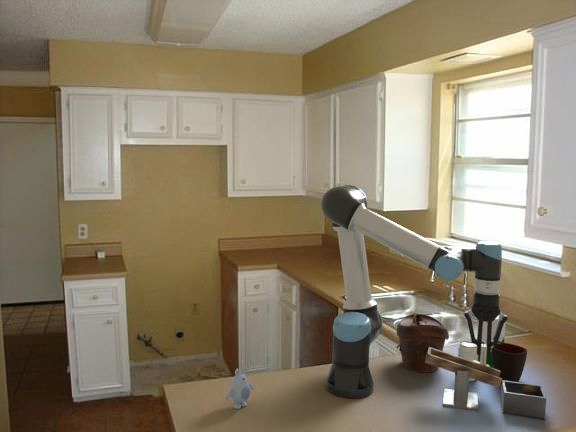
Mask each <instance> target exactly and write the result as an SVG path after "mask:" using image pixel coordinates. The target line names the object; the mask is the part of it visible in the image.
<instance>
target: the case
mask: <svg viewBox="0 0 576 432" xmlns="http://www.w3.org/2000/svg"><path fill="white" fill-rule="evenodd" d="M396 336H398V341H399V345H397V346H396V350H398V349H399V352H400V354H401V361H402V365H403V366H404V367H405V368H407V369H408V370H410V371H413V372H417V373H431V372H435V371H437V370H438V369H439V367H437V366H434V365H431V364H428V363H425V360H426V355H427V351H428V348H429V347H431V348H434V349H437V350H440V351H443V352H444V347H445V343H446V340H447V341H448V340H449V339H450V335H449V331H448V328H447V327H446V326H445V325H444V324H443V323H442V322H441V321H440V320H438V319H437V318H435V317H433V316H430V315H427V314H424V313H412V314H410V315H407V316H405V317H403V318H402V319H400V321H399V322H398V324H396Z"/></svg>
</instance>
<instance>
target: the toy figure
mask: <svg viewBox="0 0 576 432" xmlns="http://www.w3.org/2000/svg"><path fill="white" fill-rule="evenodd" d="M245 372H246V367H245V366H242V367H241V371H240V369H239V368H236V369H235V371H234V377H233V379H232V381H231V383H230V385H229V391H227V393H226V394H225V399H226V400H229V398H231V399H232V401H233V402H234V403H235V404H234V405H233V406H234V409H235V410H239V409H241V408H243V407H246V406H247V402H246V401H247V400H248V399H249V397H250V395H251V390H253V389H254V384H253V383H251V382H249V380H248V377H247V376H246V374H245Z"/></svg>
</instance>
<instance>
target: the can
mask: <svg viewBox="0 0 576 432" xmlns="http://www.w3.org/2000/svg"><path fill="white" fill-rule="evenodd" d="M457 349H458V351H457V356H458V357H461V358H464V359H467V360H470V361H473V360H476V361H478V355H477V345H476V344H475V343H472V342H471V340H470V341H469V340H464V341H463V340H462V341H460V342H459V345H458V347H457ZM474 381H475V382H476V380H475V379H472V378H469V383H470V382H471V383H472V382H474Z"/></svg>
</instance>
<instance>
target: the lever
mask: <svg viewBox="0 0 576 432" xmlns="http://www.w3.org/2000/svg"><path fill="white" fill-rule="evenodd" d="M425 363H428V364H431V365H434V366H437V367H438V368H440V369H442V370H446V371H449V372H452V373H454V374H455V373H457V369H458V370H466V371H468V377H469V378H472V379H475V381H477V382H481V383H484V384H486V385H489V386H493V387H495V388H498V389H499V388H500V387H501V381H502V378H500V377H499V375H500V372H501V371H500V370H497V369H494V368H493V367H491V366H489V365H488V364H486V366H485V365H482V364H480V362H479V361H476V360H473V361H470V360H467V359H464V358H461V357H458V355H454V354H451V353H450V352H447V351H446V352H445V351H444V350H443V351H440V350H437V349H434V348H431V347H429V348H428V351H427V355H426V360H425Z"/></svg>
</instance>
